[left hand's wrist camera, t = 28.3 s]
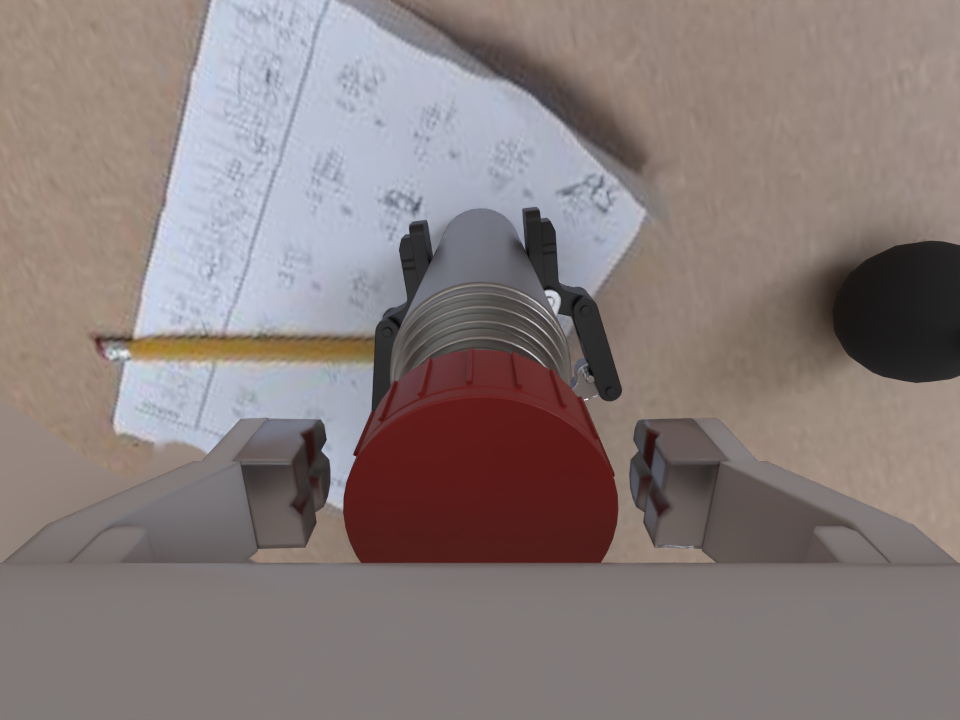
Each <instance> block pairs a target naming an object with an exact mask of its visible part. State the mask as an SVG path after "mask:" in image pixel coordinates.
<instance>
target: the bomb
mask: <svg viewBox="0 0 960 720" xmlns="http://www.w3.org/2000/svg"><path fill="white" fill-rule="evenodd" d="M833 321H834V330H835V334H836V336H837V337H838V339H839V341H840V343H841V344H842V346H843V348H844V350H845V351H846V352H847V354H848V355H849V356H850V357H851V358H853V359H854V360H855V361H857V362H858V363H860V364H861V365H863V366H864V367H866V368H867V369H868V370H870V371H871V372H873V373H875V374H878V375H880V376H883V377H887V378H892V379H897V380H902V381H908V382H914V383H920V382H931V381H939V380H947V379H952V378H955V377H957V376H960V245H956V244H952V243H947V242H943V241H926V242H918V243H911V244H904V245H898V246H894V247H892V248H890V249H888V250H886V251H884V252H882V253H879V254H877V255H875V256H873V257H871V258H869V259H867V260H866V261H864V262H863V263H862V264H861V265H860V266H859V267H857V268H856V269H855V270H854V271H853V272H851V273H850V274H849V276H848V277H847V279H846V280H845V282H844V283H843V285H842V286H841V288H840V289H839V291H838V293H837V297H836V300H835V303H834V307H833Z"/></svg>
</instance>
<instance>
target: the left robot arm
mask: <svg viewBox="0 0 960 720" xmlns="http://www.w3.org/2000/svg"><path fill="white" fill-rule="evenodd" d="M326 440H327V439H326V433H325V427H324V424H323V422H322V421H321V419H269V418H249V419H240V420H239V421H238V422H237V423H236V424H235V426H234V427H233V428H232V429H231V430H230V431H229V432H228V433H227V434H226V435H225V436H224V437H223V439H222V440H221V441H220V442H219V443H218V444H217V445H216V446H215V447H214V448H213V449H212V450H211V452H210V453H209V454H208V455H207V456H206V457H205V458H204V459H203V460H202V461H193V462H190V463H188V464H186V465H183V466H181V467H179V468H176V469H174V470H172V471H169V472H167V473H165V474H163V475H160V476H158V477H156V478H153V479H151V480H149V481H146V482H144V483H142V484H139V485H137V486H135V487H132V488H130V489H128V490H125V491H123V492H121V493H118V494H116V495H114V496H112V497H109V498H107V499H105V500H102V501H100V502H98V503H95V504H93V505H91V506H88V507H86V508H84V509H81V510H79V511H77V512H74V513H72V514H70V515H67V516H65V517H63V518H61V519H58V520H56V521H54V522H51V523H49V524H47V525H46V526H45V527H44V528H42V529H41V530H40V531H39V532H38V533H36V534H35V535H34V536H33V537H32V538H31V539H29V540H28V541H27V542H26V543H25V544H24V545H22V546H21V547H20V548H19V549H18V550H16V551H15V552H14V553H13V554H12V555H11V556H9V557H8V558H7V559H6V560H5V561H3V562H2V563H0V720H960V563H958V562H957V561H955V560H954V559H953V558H952V557H951V556H950V555H948V554H947V553H946V552H945V551H944V550H943V549H941V548H940V547H939V546H938V545H937V544H935V543H934V542H933V541H932V540H931V539H930V538H928V537H927V536H926V535H925V534H924V533H923V532H921V531H920V530H919V529H918V528H917V527H916V526H914V525H913V524H911V523H908V522H906V521H904V520H901V519H899V518H897V517H894V516H892V515H890V514H888V513H885V512H883V511H881V510H878V509H876V508H874V507H871V506H869V505H867V504H864V503H862V502H860V501H857V500H855V499H853V498H851V497H848V496H846V495H844V494H841V493H839V492H837V491H834V490H832V489H830V488H827V487H825V486H823V485H820V484H818V483H816V482H814V481H811V480H809V479H807V478H804V477H802V476H800V475H797V474H795V473H793V472H790V471H788V470H786V469H783V468H781V467H779V466H777V465H774V464H772V463H770V462H767V461H758V460H757V459H756V458H755V457H754V456H753V455H752V454H751V453H750V452H749V451H748V449H747V448H746V447H745V446H744V445H743V444H742V443H741V442H740V441H739V440H738V439H737V438H736V436H735V435H734V434H733V433H732V432H731V431H730V430H729V429H728V428H727V427H726V426H725V424H724V423H723V422H722V421H721V420H719V419H716V418H700V419H692V418H685V419H642V420H639V421H637V424H636V427H635V432H634V439H633V440H634V442H635V444H636V446H637V448H638V450H639V451H638V452H637V454H636V455H635V456H634V457H633V458H632V459H631V463H630V474H629V476H630V489H631V493H632V497H633V500H634V502H635V505H636V507H637V508H639V509H640V510H642V511H643V512H645V514H644V522H643V523H644V525H645V527H646V530H647V532H648V534H649V536H650V538H651V540H652V543H653V545H654V547H655V548H691V549H702V551H703V552H704V553H705V554H707V555H708V556H709V557H710V558H712V559H713V560H714V561H715V562H716V563H244V562H245V561H246V560H247V559H249V558H250V557H251V556H252V555H254V554H255V553H256V552H257V551H258V549H269V548H305V547H306V545H307V543H308V540H309V538H310V536H311V534H312V532H313V529H314V527H315V525H316V523H317V522H316V515H315V512H317V511H318V510H320V509H321V508H323V507H324V505H325V502H326V500H327V497H328V493H329V487H330V463H329V459H328V458H327V457H326V456H325V455H324V454H323V453H322V451H321V450H322V448H323V446H324V444H325V442H326Z"/></svg>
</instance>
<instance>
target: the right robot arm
mask: <svg viewBox="0 0 960 720" xmlns="http://www.w3.org/2000/svg"><path fill="white" fill-rule="evenodd" d="M522 212H523V226H524V238H525V250H526V254H527V256H528V258H529V260H530V262H531V264H532V266H533V269H534V271H535V273H536V275H537V277H538V279H539V281H540V284H541V286H542V288H543V290H544V292H545V294H546V296H547V298H548V301H549V303H550V305H551V307H552V309H553V311H554V313H555V316H556V318H557V314H563V315H567V316H571V317H572V320H573V323H574V327H575V330H576V333H577V336H578V339H579V342H580V345H581V348H582V352H583V355H584V358H581V359H579V360H578V361H577V362H576V363H575V365H574V377H573V379H572V380H571V385H570V388H571V389H572V390H573V391H574V393H575V394H576V395H577V396H578V397H580V396H581V397H582V398H583V400H587V399H590V398H593V397H596V396H599V395H600V397H601V398H602V399H603V400H605V401H614V400H616V399H617V398H618V397H619V396H620V395H621V392H622V388H621V384H620V381H619V378H618V374H617V371H616V368H615V364H614V361H613V358H612V354H611V351H610V348H609V344H608V341H607V338H606V334H605V331H604V327H603V324H602V321H601V317H600V314H599V311H598V307H597V305H596V303H595V302H594V300H593V299H592V298H591V296H590V295H589V294H588V293H587V291H586V290H585V289H583V288H581V287H569V286H565V285H562V284H561V283H559V280H558V265H557V249H556V233H555V229H554V227H553V225H552V223H551V221H550V220H549V219H548V218H542V219H541V217H540V211H539V209H538V208H537V207H532V208H523V209H522ZM409 232H410V234H407V235H405V236H404V237H403V238H402V239H401V243H400V248H399V252H400V258H401V263H402V269H403V275H404V280H405V286H406V292H407V302H406V303H404V304H402V305H400V306H398V307H396V308H390V309H388V310H387V311H386V312H385V314H384V315H383V319H382V320H381V321H380V322H379V324H378V325H377V327H376V332H375V353H374V373H373V394H372V411H374V412H375V411H376V409H377V407H378V405H379V403H380V402H381V400H382V398H383V397H384V396H385V394H386V393H387V392H388V390H389V389H390V386H391V383H390V367H391V355H392V348H393V345H394V341H395V338H396V336H397V334H398V331H399V329H400V327H401V325H402V323H403V321H404V318H405V316H406V314H407V312H408V310H409V308H410V305H411V303H412V301H413V299H414V297H415V295H416V293H417V290H418V288H419V286H420V284H421V282H422V280H423V278H424V275H425V273H426V271H427V269H428V267H429V265H430V263H431V260H432V258H433V254H432V247H431V241H430V234H429V228H428V223H427V220H422V221H414V222H412V223H411V224H410V225H409Z"/></svg>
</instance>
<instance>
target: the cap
mask: <svg viewBox="0 0 960 720" xmlns="http://www.w3.org/2000/svg"><path fill="white" fill-rule="evenodd" d="M353 455H354V456H356V459H355V461H354V464H353V466H352V469H351V471H350V474H349V477H348V480H347V483H346V488H345V493H344V506H343V513H344V521H345V527H346V531H347V534H348V537H349V541H350V543H351V545H352V548H353V550H354V552H355V554H356V556H357V557H358V559H359V560H360V562H361V563H601V561H602V560H603V558H604V556H605V555H606V553H607V551H608V549H609V547H610V544H611V542H612V540H613V536H614V533H615V529H616V525H617V517H618V494H617V490H616V485H615V481H614V478H613V477H614V476H615V475H614V471H613V469H612V466H611V464H610V462H609V459H608V457H607V455H606V452H605V450H604V447H603V445H602V443H601V440H600V438H599V436H598V433H597V431H596V429H595V426H594V424H593V422H592V419H591V417H590V414H589V412H588V410H587V407H586V405H585V403H584V400H583V398H582V397H581V396H580V397H578V396H577V395H576V394H575V393H574V391H573V390H572V389H571V388H570V386H569V385H568V384H566V383H565V382H564V381H563V380H562V379H561V378H560V377H559V376H558V375H557V374H556V371H555V370H554V369H551V370H549V369H548V368H546V367H544V366H542V365H541V364H539V363H537V362H535V361H533V360H530V359H528V358H525V357H522V356H520V355H517V352H513V351H512V353H508V352H503V351H494V350H473V348H468V350H467V351H459V352H453V353H450V354H446V355H442V356H439V357H436V358H434V359H431V358H428V359H426V362H424V363H423V364H421V365H419V366H417V367H416V368H414V369H412V370H411V371H409V372H408V373H407V374H405V375H404V376H403V377H401V378H400V379H399V380H398V381H396V380H394V381H393V382H392V384H391V386H390V389H389V390H388V392H387V393H386V394H385V396H384V397H383V398H382V400H381V402H380V403H379V405H378V407H377V409H376V411H375V412H374V411H372V412H371V414H370V416H369V418H368V421H367V423H366V425H365V428H364V430H363V433H362V435H361V437H360V440H359V442H358V444H357V447H356V449H355V451H354V454H353Z"/></svg>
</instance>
